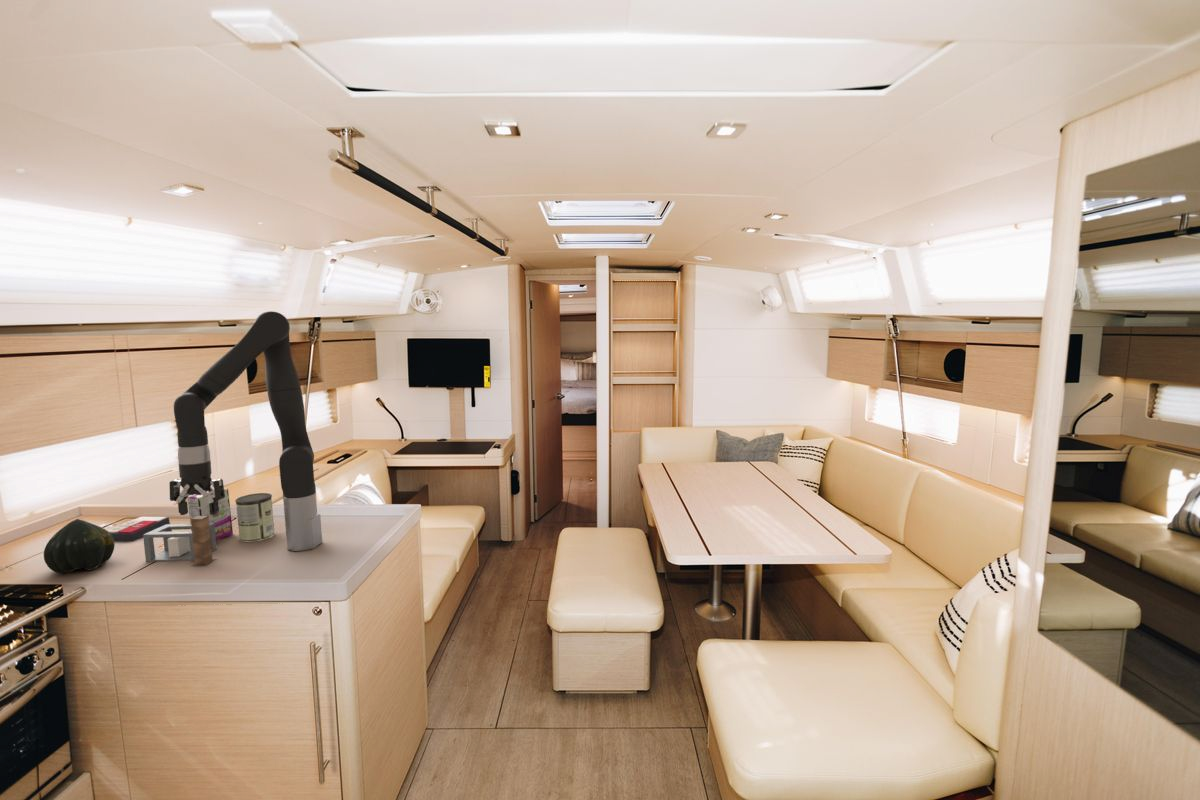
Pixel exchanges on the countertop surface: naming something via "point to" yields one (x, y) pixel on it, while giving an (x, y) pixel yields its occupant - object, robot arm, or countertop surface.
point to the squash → (78, 547)
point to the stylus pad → (206, 564)
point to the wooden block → (201, 540)
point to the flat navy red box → (137, 528)
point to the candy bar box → (220, 519)
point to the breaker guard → (167, 533)
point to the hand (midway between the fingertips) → (198, 514)
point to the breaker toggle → (178, 546)
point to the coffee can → (255, 517)
